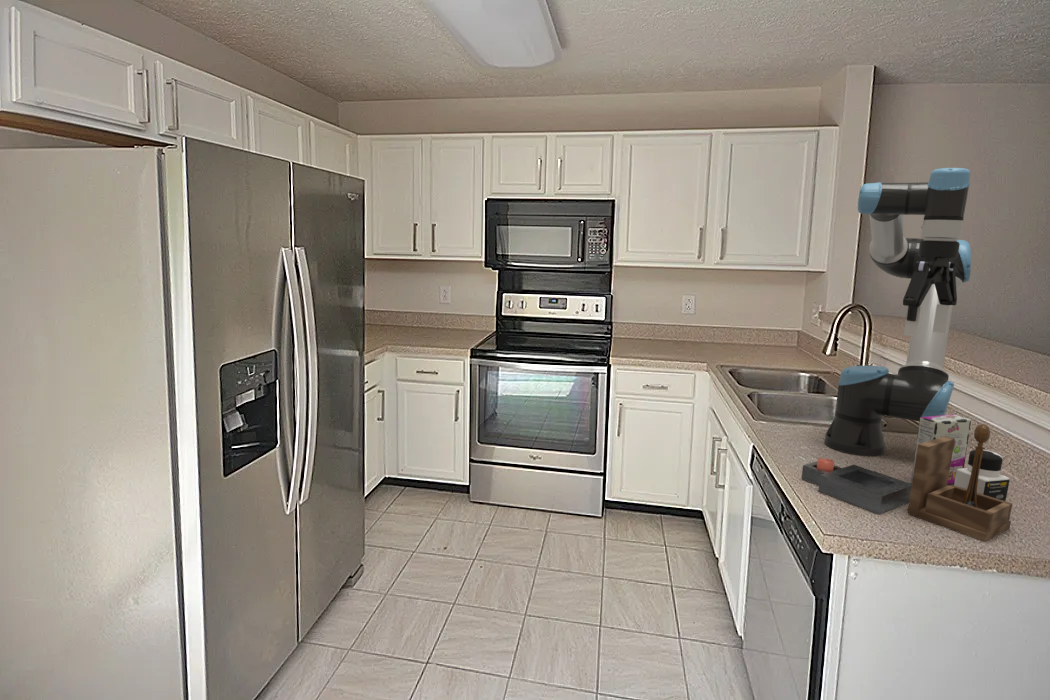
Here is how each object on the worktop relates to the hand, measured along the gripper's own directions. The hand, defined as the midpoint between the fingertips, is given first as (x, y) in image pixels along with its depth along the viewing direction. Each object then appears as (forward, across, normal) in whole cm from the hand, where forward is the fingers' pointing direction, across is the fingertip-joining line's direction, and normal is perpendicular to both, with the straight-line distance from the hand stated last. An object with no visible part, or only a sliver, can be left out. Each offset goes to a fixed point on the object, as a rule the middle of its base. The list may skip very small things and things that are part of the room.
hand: (925, 334), depth 145 cm
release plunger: (+37, +15, -11) cm, 41 cm away
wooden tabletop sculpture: (+35, +10, +18) cm, 41 cm away
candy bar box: (+37, -10, +3) cm, 38 cm away
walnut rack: (+37, +10, +16) cm, 41 cm away
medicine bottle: (+37, -5, +14) cm, 40 cm away
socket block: (+37, +15, -4) cm, 40 cm away
